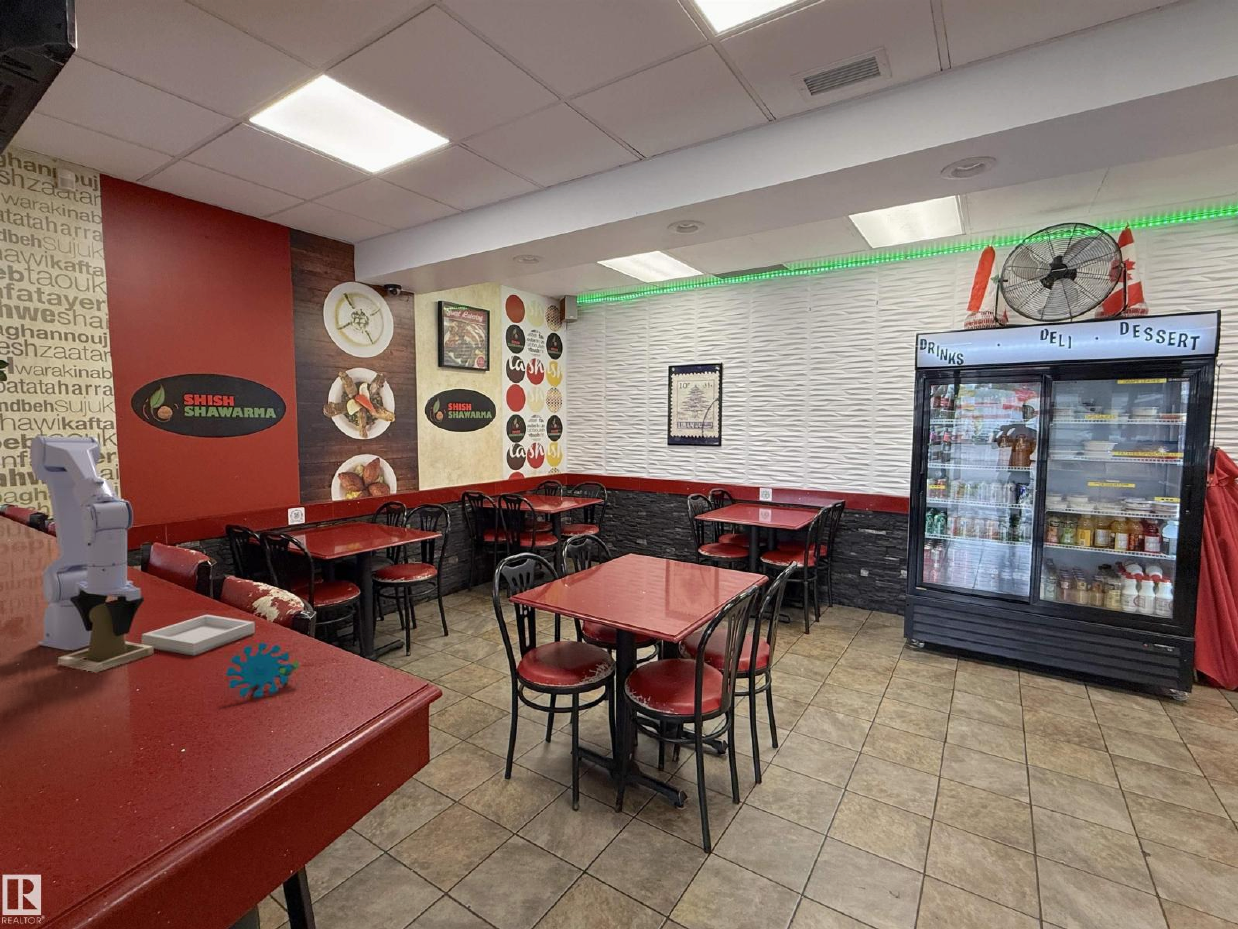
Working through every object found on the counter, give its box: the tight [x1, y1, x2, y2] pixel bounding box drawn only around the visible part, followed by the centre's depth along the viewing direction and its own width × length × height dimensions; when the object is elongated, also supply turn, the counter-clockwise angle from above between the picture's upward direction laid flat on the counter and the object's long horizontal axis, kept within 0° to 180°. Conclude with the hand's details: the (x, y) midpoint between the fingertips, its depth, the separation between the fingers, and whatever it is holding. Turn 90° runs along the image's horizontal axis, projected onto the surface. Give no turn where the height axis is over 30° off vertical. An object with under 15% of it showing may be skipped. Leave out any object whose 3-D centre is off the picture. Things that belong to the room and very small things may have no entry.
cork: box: [86, 604, 128, 663], centre depth 109 cm, size 6×6×11 cm
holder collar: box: [57, 640, 155, 674], centre depth 109 cm, size 10×10×2 cm
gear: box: [225, 642, 300, 699], centre depth 101 cm, size 11×6×10 cm
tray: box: [141, 614, 256, 657], centre depth 121 cm, size 14×14×2 cm
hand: (107, 632), depth 109 cm, fingers open, 7 cm apart
